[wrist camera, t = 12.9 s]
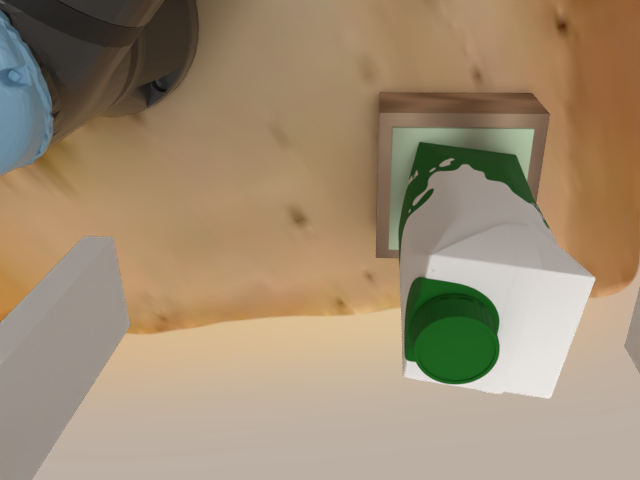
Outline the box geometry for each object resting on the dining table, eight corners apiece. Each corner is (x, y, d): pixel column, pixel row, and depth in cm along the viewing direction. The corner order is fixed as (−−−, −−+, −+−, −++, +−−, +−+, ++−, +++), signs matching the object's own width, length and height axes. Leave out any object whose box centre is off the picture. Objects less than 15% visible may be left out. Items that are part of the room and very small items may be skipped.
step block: (376, 225, 55) (375, 259, 49) (380, 92, 50) (379, 114, 44) (513, 228, 54) (528, 264, 48) (532, 93, 48) (551, 115, 43)
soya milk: (408, 127, 44) (423, 263, 27) (534, 144, 44) (633, 293, 26) (389, 234, 48) (390, 413, 31) (503, 250, 48) (571, 441, 30)
